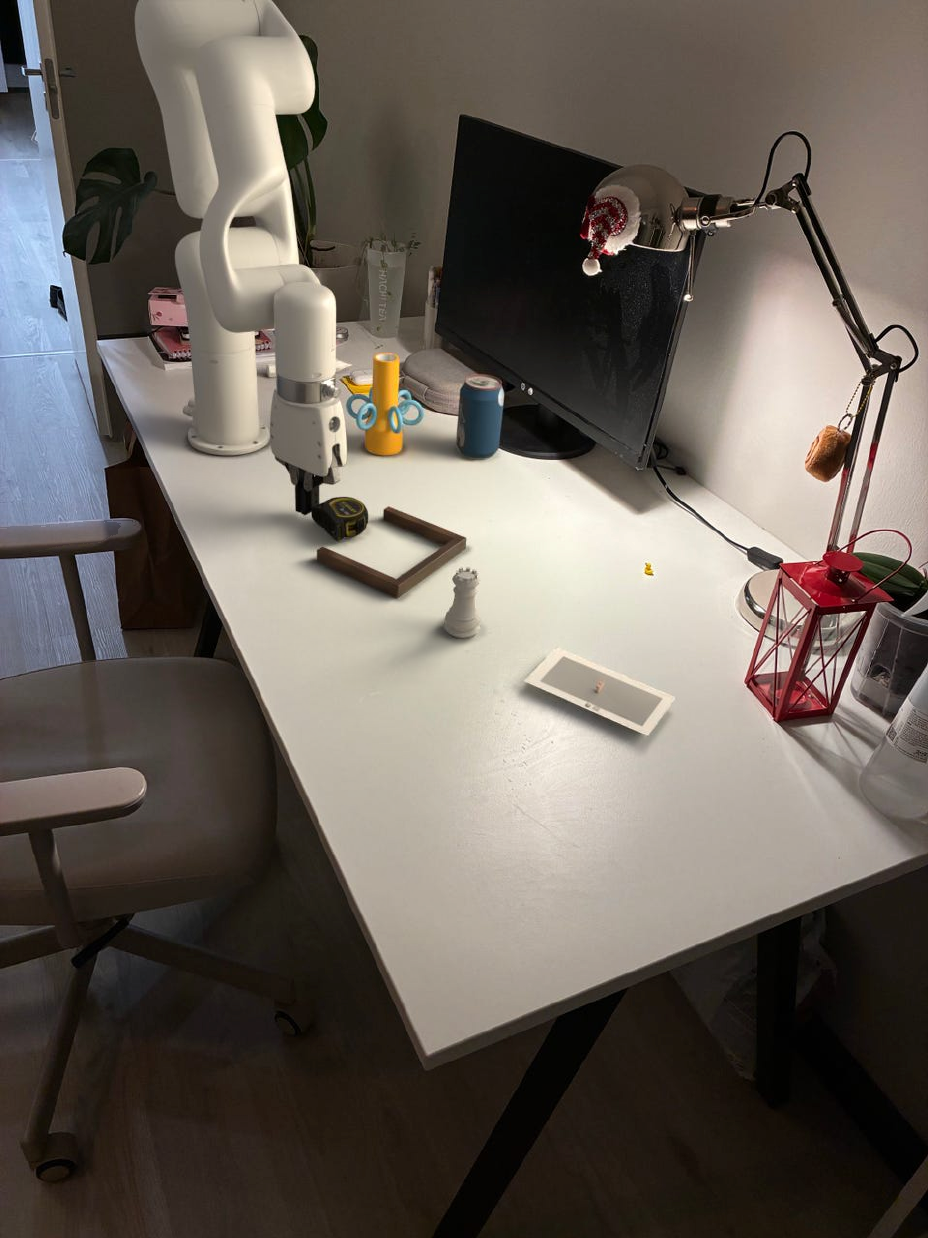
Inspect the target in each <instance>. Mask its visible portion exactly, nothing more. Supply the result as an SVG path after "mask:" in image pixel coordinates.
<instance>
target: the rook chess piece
mask: <svg viewBox="0 0 928 1238" xmlns="http://www.w3.org/2000/svg"><path fill="white" fill-rule="evenodd" d="M477 571H478V570H476V569H475V568H473V569H472V570H471V567H469V566H465V569H464V567H459V568H458V570H456V571H455V574H454V575H453V576H452V578H451V580H452V582H453V584H454V585H455V586H454V587H453V590H452V591H453V593H454V598H453V601H452V605H451V606H450V607H449V609H448V611H446V613H445V616H444V621H443V627H444V629H445V631H446V632H447V633H448V634H449V635H450V636H453V637H455V638H457V639H458V638H460V639H468V638H469V639H470V638H471V637H474V636H475V635H476V634H477V633H478V632H479V631H480V630H481V616H480V614H479V612H478V610H477V607H476V595H477V593H478V590H477V588H476V587H477V586H479V585H480V584H481V578H480V576H478V573H477Z"/></svg>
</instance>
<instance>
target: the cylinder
mask: <svg viewBox="0 0 928 1238" xmlns="http://www.w3.org/2000/svg"><path fill="white" fill-rule="evenodd" d="M400 362H401V361H400V356H399V355H398V354H395V353H392V352H377V353H375V354H373V356H372V385H371V387H370V389H369V392H368V396H367V395H365V394H362V393H355V394H352V395H350V397H348V399H347V400H346V404H345V407H346V411H347V413H348V415H349V416H350V417H351V418H353V419H355V422H356V426H357V428H358V429H360V430H362V431H364V447H365V449H366V451H368V452H369V453H371V454H374V455H378V456H393V455H396V454H399V453H400V452H402V449H403V443H404V425H406V426H410V427H411V426H416V425H418V424H420V423H421V422H422V420H423V418H424V413H425V412H424V409H423V406H422V405H421V404H420V403H419V402H418V401H417V400H415V399H412V395H411V392H410V391H408V390H407V389H401V390H400V389H399V386H400V385H399V383H400ZM402 396H405V398H406V399H404V400H402V401H401V402H399V399H400V398H401V397H402ZM356 400H362V401H364V402H365V403H363V404H362V405H361V406H360V407H359V409H358V411H357V413H355V411H354V410H353V408H352V403H353V402H354V401H356ZM411 406H414V407H415V408H416V409H417V411H418V415H417V417H416V418H415V419H413V420H410V419H406V418H405V417H404V415H406V414H407V412H408V411H409V409H410V407H411ZM366 410H367V411H366ZM365 411H366V412H365ZM364 412H365V413H364ZM364 420H366V421H365V424H364V423H362V421H364Z"/></svg>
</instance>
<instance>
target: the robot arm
mask: <svg viewBox="0 0 928 1238" xmlns="http://www.w3.org/2000/svg"><path fill="white" fill-rule="evenodd" d="M135 6H136V7H135V12H134V30H135V38H136V44H137V48H138V53H139V57H140V59H141V62H142V65H143V68H144V70H145V73H146V75H147V77H148V80H149V83H150V84H151V87H152V89H153V91H154V93H155V96H156V100H157V102H158V104H159V108H160V113H161V116H162V122H163V123H162V124H163V129H164V135H165V136H164V137H165V143H166V148H167V153H168V159H169V166H170V171H171V177H172V183H173V188H174V193H175V196H176V200H177V203H178V205H179V207H180V210H181V211H182V212H183V213H184V214H185V215H187V216H189V217H191V218H195V219H202V222H201V227H200V230H198V231H195V232H191V233H189V234H186V235H185V236H184V237H182V238H181V239H180V240H179V241H178V243H177V245H176V248H175V251H174V263H175V269H176V274H177V277H178V281H179V285H180V289H181V294H182V297H183V302H184V307H185V313H186V322H187V329H188V340H189V346H190V347H189V349H190V357H191V358H190V359H191V368H192V369H191V371H192V382H193V393H194V397H191V398H190V399H188V401H187V405H185V406H183V408H182V414H184V415H185V416H187V417H191V418H192V425H191V426H190V428H189V429H188V431H187V440H188V442H189V444H190V445H191V446H192V447H193V448H195V450H198V451H200V452H202V453H206V454H210V455H214V456H215V455H216V456H241V455H245V454H246V455H247V454H251V453H254V452H256V451H259V450H262V448H264V447H265V446H267V445H268V443H269V444H270V451H271V453H272V454H273V456H274V459H275V461H277V462H278V463H279V464H280V465H282V466H283V467H284V468H285V469H286V470H287V472H288V474H289V478H290V483H291V484H292V485H293V486H294V505H295V506H294V509H295V512H296V513H300V514H301V515H303V516H307V515H308V514H311V510H312V508H313V507H314V506H316V505H318V504H320V486H321V485H323V484H324V485H331V486H333V485H336V484H337V483H339V482H341V476H340V475H341V474H340V470H339V468H344V467H346V465H347V461H348V460H347V459H348V448H347V447H348V446H347V444H348V443H347V430H346V420H345V414H344V410H343V409H344V408H343V405H342V400H341V398H339V397H340V396H341V389H340V388H339V387H337V386H336V385H337V384H336V380H337V379H336V377H337V376H336V374H337V372H336V359H337V357H336V356H337V301H336V297H335V295H334V293H333V291H332V290H331V289H329V287H327V286H325V285H322V284H321V281H320V280H319V278H318V277H317V275H316V274H315V273H314V271H313V270H312V269H311V268H310V267H308V266H306V265H304V264H300V257H299V248H298V240H297V231H296V230H297V229H296V222H295V221H296V220H295V212H294V205H293V197H292V195H293V194H292V189H291V188H292V187H291V182H290V176H289V172H288V169H287V164H286V160H285V156H284V150H283V145H282V142H281V136H280V132H279V128H278V122H277V116H276V115H299V114H303V113H305V112H307V111H308V110H309V109H310V108H311V107H312V104H313V102H314V99H315V91H316V80H315V73H314V68H313V65H312V61H311V59H310V56H309V53H308V51H307V48H306V47H305V45H304V43H303V41H302V40H301V38H300V37H299V34H298V33H297V32H296V31H295V29H294V27H293V26H292V25H291V24H290V22H289V21H288V20H287V18H286V17H285V16H284V14H283V13H282V12H281V10H280V9H279V7H278V6H277V5H276V4H275V2H274V1H273V0H138V1H137V3H136V5H135ZM241 217H242V218H244V217H253V219H254V222H255V226H244V227H242V226H241V227H230V226H231V224H232V221H233V219H234V218H241ZM267 330H274V331H273V332H274V333H273V334H274V335H273V336H274V363H275V367H276V377H275V388H274V390H273V393H272V399H271V407H270V415H269V416H270V417H269V427H268V426H267V425H266V424H264V423H263V422H262V421H260V412H259V393H258V391H259V390H258V373H257V372H258V371H257V355H256V353H257V352H256V337H255V332H258V331H267Z"/></svg>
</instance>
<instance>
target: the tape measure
mask: <svg viewBox="0 0 928 1238" xmlns="http://www.w3.org/2000/svg"><path fill="white" fill-rule="evenodd" d="M310 514H311V520H312V521H313V522H314V523H316V525H318V526H319V527H320V528H321V529H323V531H324V532H326V533H327V535H328V536H330V538H332V539H333V540H334V541H335V542H340V541H342V540H344V539H345V538H354V537H357V536H360V535H361V534H362V533H363V532H364V531H365V530H366V529H367V527H368V524H369V510H368V508H367V506H366V505H365V504H364V503H363V502H362V501H361V500H359V499H358V498H357V499H356V498H354V497H350V496H335V497H331V498H330V499H327V500H325V501H323V502H321V503H320V502H319V504H318V505H316V506H314V507H313V508H312V510H311V512H310Z"/></svg>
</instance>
